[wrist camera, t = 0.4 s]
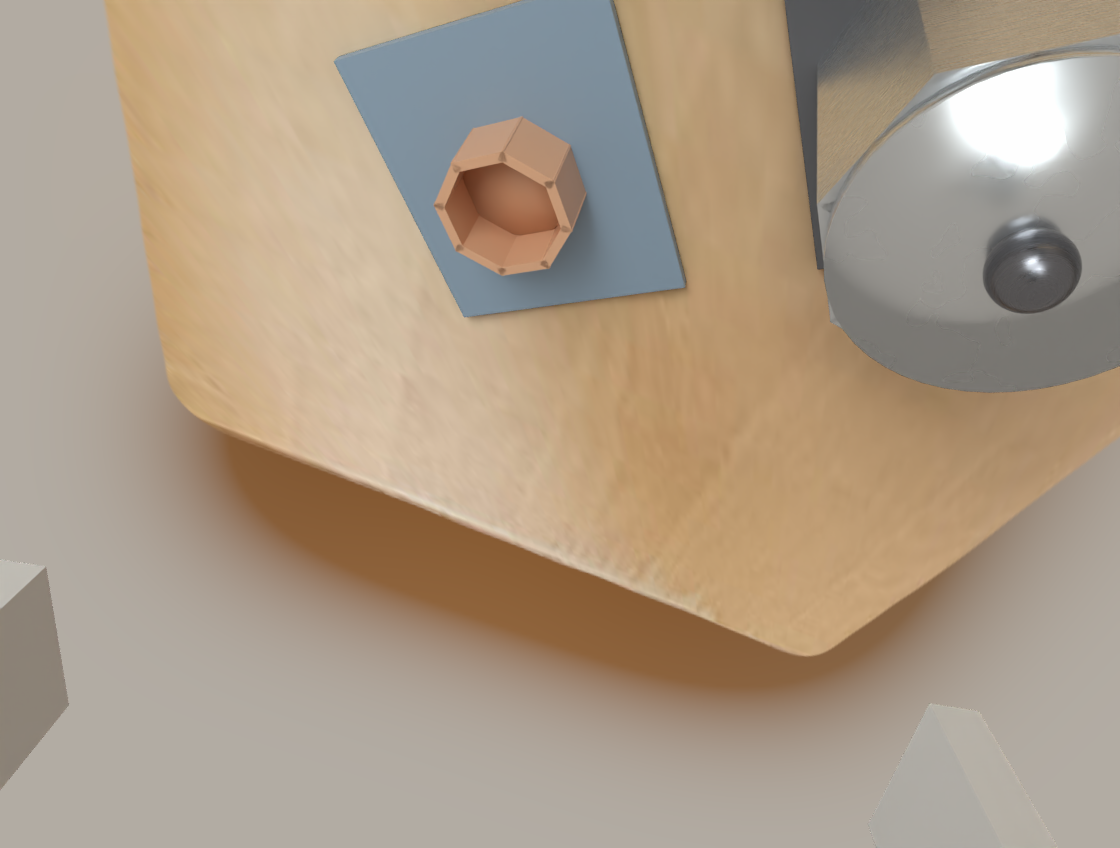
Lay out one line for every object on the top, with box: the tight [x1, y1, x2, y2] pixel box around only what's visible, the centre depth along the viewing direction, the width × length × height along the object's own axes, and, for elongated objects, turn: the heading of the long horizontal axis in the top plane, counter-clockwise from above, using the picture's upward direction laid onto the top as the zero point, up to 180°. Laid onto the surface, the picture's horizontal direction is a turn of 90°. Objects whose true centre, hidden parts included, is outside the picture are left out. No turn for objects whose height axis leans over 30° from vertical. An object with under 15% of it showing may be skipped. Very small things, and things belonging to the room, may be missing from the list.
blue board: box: [334, 0, 686, 317], centre depth 40 cm, size 16×14×1 cm
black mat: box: [785, 0, 866, 269], centre depth 32 cm, size 16×14×1 cm
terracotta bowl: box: [433, 116, 587, 276], centre depth 39 cm, size 7×7×4 cm
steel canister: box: [817, 0, 1120, 393], centre depth 27 cm, size 12×12×14 cm
